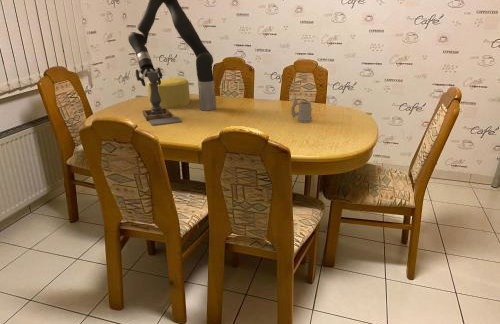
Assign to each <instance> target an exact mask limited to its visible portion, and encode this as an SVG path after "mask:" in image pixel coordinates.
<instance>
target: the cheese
mask: <svg viewBox="0 0 500 324" xmlns="http://www.w3.org/2000/svg"><path fill="white" fill-rule="evenodd" d="M160 80H161V84H160V85H159V84H158V92H159V95H160V98H161V103H160V106H161V108H167V109H174V108H181V107H185V106H188V105H189V104H190V103H191V100H190V99H191V96H190V87H189V85H190V83H189V80H188V79H185V78H182V77H173V76H170V77H168V79H160ZM157 82H158V81H157ZM149 83H150V81H149V80H148V81H147V83H146V85H147V95H148V96H147V97H148V103H149V104H148V105H149V106H150V107H151V108H152V106H153V105H152V104H151V102H150V96H151V86H150V85H149Z"/></svg>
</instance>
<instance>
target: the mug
mask: <svg viewBox="0 0 500 324" xmlns="http://www.w3.org/2000/svg"><path fill="white" fill-rule="evenodd" d="M291 105H292V106H291V109H290V114H291V116H292V118H293V119H294V118H295V117H297V121H298V122H299V123H302V124H303V123H304V124H307V123H311V122H312V120H313V116H312V109H313V108H312V102H310V101H300V102H298V100H297V98H296V97H294V98H293V103H292V104H291ZM296 106H298V111H297V112H296V110H295V109H296Z"/></svg>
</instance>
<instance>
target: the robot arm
mask: <svg viewBox="0 0 500 324" xmlns="http://www.w3.org/2000/svg"><path fill="white" fill-rule="evenodd" d="M163 4H164V5H165V7H166V8H167V10H168V11H169V14H170V16H171V20H172V22H173V23H172V24H173V26H174V28H175V30H176V32H177V33H178V35H179V37H181V39H182V40H183V41H184V42H185V44H186V45H187V46H188V47H189V48H191V50H192V53H193V54H194V55H195V57H196V59H195V67H196V68H195V69H196V77H197V83H198V101H199V110H201V111H208V112H209V111H214V110H217V103H216V102H217V101H216V99H217V97H216V93H215V84H214V83H215V81H214V74H213V64H214V57H213V55H212V54H211V52H210V50H208V49H207V47H206V46H205V44H204V43H203V42H202V40H201V38H200V36H199V34H198V32H197V31H196V28H195V27H194V25H193V24H192V22H191V20H190V18H189V17H188V16H187V14H186V13H185V11H184V10H183V8H182V6H181V5H180V2H179V1H178V0H148V2H147V5H146V7H145V10H144V12H143V14H142V17H141V18H140V19H139V22H138V24H137V27H136V28H137V31H139V32H140V33H139V32H135V31H131V32H130V33H129V34H128V38H127V39H128V43H129V45H130V47H131V48H132V49H133V51H134V52H135V53H134V54H135V55H136V59H137V63H138V66H139V69H140V70H138V69H135V77H136V81H138V82H141V85H142V86H143V87H146V82H145V78H148V75H147V72H150V71H157V72H158V80H157V81H158V83H159V85H160V84H161V80H163V73H162V70H161V68H160V67H157V68H155V67H154V64H153V62H152V59H151V56H150V54H149V50H148V48H147V46H146V45H147V42H148V39H149V38H148V37H149V33H150V31H151V29H152V27H153V25H154V23H155V20H156V16H157V12H158V10H159V8H160V7H161V6H162V5H163ZM140 74H141V77H140Z"/></svg>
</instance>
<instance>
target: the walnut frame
mask: <svg viewBox="0 0 500 324" xmlns="http://www.w3.org/2000/svg"><path fill="white" fill-rule="evenodd" d="M161 110H162V113H163V114H159V115H152V114H151V111H152V109H144V110H142V115H143V117H144V119H145V121H148V122H149V120H153V119H162V118H170V117H173V115H172V114H173V113H172V112H171V111H170V110H169V108H162V109H161Z"/></svg>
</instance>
